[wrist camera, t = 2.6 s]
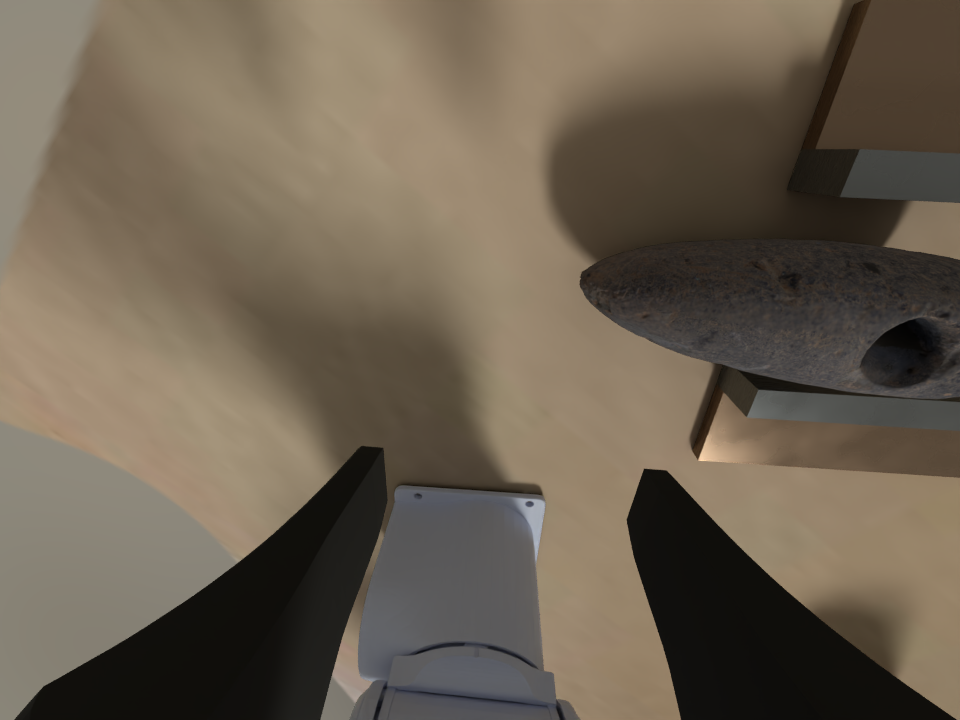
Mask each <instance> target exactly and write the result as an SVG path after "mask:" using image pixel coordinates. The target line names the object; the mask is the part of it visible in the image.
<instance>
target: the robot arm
mask: <svg viewBox="0 0 960 720" xmlns="http://www.w3.org/2000/svg"><path fill="white" fill-rule="evenodd" d="M416 493H418V494H421V495H418V494H416ZM394 496H395V503H394V506H393V509H392V512H391V516H390V519H389V522H388V525H387V529H386V532H385V535H384V538H383V542H382V545H381V548H380V551H379V555H378V558H377V561H376V564H375V568H374V571H373V574H372V577H371V581H370V584H369V588H368V592H367V596H366V600H365V605H364V610H363V615H362V621H361V627H360V634H359V645H358V668H359V673H360V676H361V678H363V679H365V680H368V681H372V682H373V683H372V684H371V685H370V687H369V688H368V689H367V690H366V691H365V692H364V693H363V694H362V695H361V696H360V697H359V698H358V700H357V702H356V704H355V706H354V709H353V711H352V714H351V717H350V720H580V718H579V717H578V715H577V714H576V712H575V710H574V708H573V707H572V705H571V704H570V703H569V702H568V701H565V700H559V699H556V693H555V682H554V674H553V673H552V672H547V671H544V664H543V651H542V638H541V625H540V612H539V600H538V587H537V574H536V561H537V555H538V549H539V543H540V536H541V530H542V524H543V518H544V512H545V505H546V504H545V498H544V497H543V496H541V495H535V494H521V493H506V492H492V491H477V490H463V489H448V488H434V487H419V486H405V485H401V486H398V487H397V488H396V490H395V493H394ZM528 501H531V502H528ZM386 504H387V488H386V476H385V463H384V450H383V448H379V447H366V446H361V447H360V448H359V449H358V450H357V451H356V452H355V453H354V454H353V455H352V456H351V457H350V458H349V459H348V461H347V462H346V463H345V464H344V465H343V466H342V467H341V468H340V469H339V470H338V472H337V473H336V474H335V475H334V476H333V477H332V478H331V479H330V480H329V481H328V482H327V483H326V484H325V485H324V486H323V487H322V488H321V489H320V490H319V491H318V492H317V493H316V494H315V495H314V496H313V497H312V498H311V499H310V500H309V501H308V502H307V503H306V504H305V505H304V506H303V507H302V508H301V509H300V510H299V511H298V512H297V513H296V514H295V515H293V516H292V517H291V518H290V519H289V520H288V521H287V522H286V523H285V524H284V525H283V526H282V527H280V528H279V529H278V530H277V531H276V532H275V533H274V534H273V535H271V536H270V537H269V538H268V539H267V540H266V541H264V542H263V543H262V544H261V545H260V546H258V547H257V548H256V549H255V550H254V551H252V552H251V553H250V554H249V555H247V556H246V557H245V558H244V559H242V560H241V561H240V562H239V563H237V564H236V565H235V566H233V567H232V568H231V569H229V570H228V571H227V572H225V573H224V574H223V575H221V576H220V577H219V578H217V579H216V580H215V581H213V582H212V583H211V584H209V585H208V586H206V587H205V588H204V589H202V590H201V591H199V592H198V593H197V594H195V595H194V596H192V597H191V598H189V599H188V600H186V601H185V602H183V603H182V604H181V605H179V606H177V607H176V608H174V609H173V610H171V611H170V612H168V613H167V614H165V615H164V616H162V617H160V618H159V619H157V620H156V621H154V622H153V623H151V624H150V625H148V626H147V627H145V628H144V629H142V630H140V631H139V632H137V633H136V634H134V635H132V636H131V637H129V638H128V639H126V640H124V641H122V642H121V643H119V644H118V645H116V646H114V647H112V648H111V649H109V650H107V651H105V652H104V653H102V654H100V655H99V656H97V657H95V658H93V659H91V660H90V661H88V662H86V663H84V664H83V665H81V666H79V667H77V668H76V669H74V670H72V671H70V672H69V673H67V674H65V675H63V676H62V677H60V678H58V679H56V680H54V681H53V682H51V683H49V684H47V685H45V686H44V687H43V688H42V689H41V690H40V691H39V692H38V693H37V694H36V695H35V697H34V698H33V699H32V700H31V701H30V702H29V703H28V704H27V706H26V707H25V708H24V709H23V710H22V711H21V712H20V714H19V715H18V716H17V717H16V719H15V720H320V718H321V714H322V710H323V707H324V703H325V699H326V695H327V692H328V688H329V684H330V680H331V676H332V673H333V669H334V665H335V662H336V658H337V655H338V651H339V647H340V644H341V640H342V636H343V633H344V630H345V627H346V624H347V621H348V618H349V615H350V613H351V610H352V607H353V605H354V602H355V599H356V596H357V594H358V591H359V588H360V586H361V583H362V580H363V577H364V575H365V572H366V569H367V567H368V564H369V561H370V558H371V556H372V553H373V550H374V547H375V545H376V542H377V539H378V536H379V533H380V529H381V525H382V521H383V517H384V512H385V508H386ZM627 524H628V530H629V535H630V541H631V545H632V550H633V555H634V559H635V562H636V565H637V568H638V571H639V575H640V578H641V581H642V584H643V587H644V590H645V593H646V596H647V599H648V602H649V605H650V608H651V611H652V614H653V617H654V620H655V623H656V626H657V629H658V633H659V636H660V639H661V642H662V645H663V648H664V651H665V655H666V658H667V662H668V665H669V669H670V673H671V678H672V682H673V686H674V690H675V695H676V699H677V703H678V708H679V712H680V716H681V720H956V719H955V718H953V717H952V716H950V715H949V714H948V713H946V712H945V711H943V710H942V709H940V708H939V707H937V706H936V705H935V704H933V703H932V702H930V701H929V700H927V699H926V698H925V697H923V696H922V695H920V694H919V693H917V692H916V691H914V690H913V689H912V688H910V687H909V686H907V685H906V684H904V683H903V682H902V681H900V680H899V679H898V678H896V677H895V676H893V675H892V674H891V673H889V672H888V671H886V670H885V669H884V668H882V667H881V666H880V665H878V664H877V663H876V662H874V661H873V660H872V659H870V658H869V657H868V656H866V655H865V654H864V653H862V652H861V651H860V650H859V649H857V648H856V647H855V646H853V645H852V644H851V643H849V642H848V641H847V640H845V639H844V638H843V637H842V636H840V635H839V634H838V633H836V632H835V631H834V630H833V629H831V628H830V627H829V626H828V625H826V624H825V623H824V622H823V621H821V620H820V619H819V618H818V617H817V616H815V615H814V614H813V613H812V612H811V611H810V610H808V609H807V608H806V607H805V606H804V605H802V604H801V603H800V602H799V601H798V600H797V599H795V598H794V597H793V596H792V595H791V594H790V593H788V592H787V591H786V590H785V589H784V588H783V587H782V586H780V585H779V584H778V583H777V582H776V581H775V580H774V579H773V578H772V577H770V576H769V575H768V574H767V573H766V572H765V571H764V570H763V569H762V568H761V567H760V566H759V565H758V564H757V563H756V562H755V561H753V560H752V559H751V558H750V557H749V556H748V555H747V554H746V553H745V552H744V551H743V550H742V549H741V548H740V547H739V546H738V545H737V544H736V543H735V542H734V541H733V540H732V539H731V538H730V537H729V536H728V535H727V534H726V533H725V532H724V531H723V530H722V529H721V528H720V527H719V526H718V525H717V524H716V523H715V522H714V520H713V519H712V518H711V517H710V516H709V515H708V514H707V513H706V512H705V511H704V510H703V509H702V508H701V507H700V506H699V505H698V503H697V502H696V501H695V500H694V499H693V498H692V497H691V496H690V495H689V494H688V493H687V492H686V491H685V489H684V488H683V487H682V486H681V485H680V484H679V483H678V482H677V481H676V480H675V479H674V478H673V477H672V476H671V475H670V474H669V473H668V471H666V470H653V469H644V471H643V473H642V476H641V479H640V482H639V485H638V488H637V491H636V494H635V497H634V500H633V503H632V506H631V509H630V511H629V514H628V517H627Z"/></svg>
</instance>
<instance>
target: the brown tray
mask: <svg viewBox="0 0 960 720" xmlns="http://www.w3.org/2000/svg"><path fill="white" fill-rule="evenodd" d="M787 190H794V191H801V192H808V193H815V194H822V195H829V196H836V197H850V198H871V199H892V200H912V201H933V202H954V203H960V0H864V1H861V2H859V3H856V4H854V6H853V9H852V12H851V15H850V17H849V20H848V23H847V26H846V28H845V31H844V34H843V37H842V39H841V42H840V45H839V48H838V50H837V53H836V56H835V59H834V61H833V64H832V67H831V70H830V72H829V75H828V78H827V81H826V83H825V86H824V89H823V92H822V95H821V97H820V100H819V103H818V106H817V108H816V111H815V114H814V117H813V119H812V122H811V125H810V128H809V130H808V133H807V136H806V139H805V141H804V144H803V147H802V150H801V152H800V155H799V158H798V161H797V163H796V166H795V169H794V172H793V175H792V177H791V180H790V183H789V186H788V188H787ZM692 451H693V453H694V454H695V456H696V458H697V459H698V460H700V461H715V462H731V463H746V464H761V465H776V466H791V467H807V468H822V469H837V470H852V471H867V472H882V473H898V474H913V475H928V476H943V477H958V478H960V397H952V398H945V399H918V398H905V397H896V396H883V395H875V394H863V393H855V392H847V391H841V390H835V389H830V388H824V387H819V386H812V385H806V384H801V383H796V382H791V381H786V380H781V379H776V378H772V377H767V376H763V375H758V374H754V373H749V372H745V371H742V370H738V369H735V368H731V367H728V366H726V365H723V368H722V370H721V373H720V376H719V379H718V381H717V384H716V387H715V390H714V392H713V395H712V398H711V401H710V404H709V406H708V409H707V412H706V415H705V417H704V420H703V423H702V426H701V428H700V431H699V434H698V437H697V439H696V442H695V445H694V448H693V450H692Z"/></svg>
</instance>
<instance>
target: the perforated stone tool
mask: <svg viewBox="0 0 960 720" xmlns="http://www.w3.org/2000/svg"><path fill="white" fill-rule="evenodd" d="M580 278H581V280H580V287H581V289H582V290H583V292H584V295H585V296H586V298H587V299H588V300H589V302H590V303H591V304H592V305H593V306H594V307H596V308H597V309H598V310H599V311H600V312H602V313H603V314H604V315H605V316H607V317H608V318H610V319H611V320H612V321H614V322H615V323H617V324H618V325H620V326H621V327H623V328H625V329H627V330H628V331H630V332H633V333H634V334H636V335H638V336H641V337H644V338H646V339H648V340H649V341H651V342H654V343H656V344H658V345H660V346H663V347H665V348H667V349H670V350H672V351H675V352H677V353H680V354H683V355H686V356H690V357H693V358H697V359H701V360H704V361H708V362H712V363H717V364H723V365H726V366H728V367H731V368H735V369H738V370H742V371H745V372H749V373H754V374H758V375H763V376H767V377H772V378H776V379H781V380H786V381H791V382H796V383H801V384H806V385H812V386H819V387H824V388H830V389H835V390H841V391H847V392H855V393H863V394H875V395H883V396H896V397H905V398H918V399H945V398H952V397H960V260H958V259H953V258H949V257H944V256H938V255H933V254H927V253H922V252H913V251H906V250H901V249H895V248H887V247H879V246H873V245H865V244H856V243H845V242H836V241H822V240H792V239H737V240H736V239H733V240H709V241H691V242H676V243H666V244H659V245H654V246H648V247H643V248H638V249H635V250H631V251H627V252H623V253H619V254H616V255H614V256H611V257H608V258H605V259H603V260H601V261H599V262H597V263H595V264H594V265H592V266H590V267H589V268H588V269H586V270H585V271H583V272H582V274H581V277H580Z"/></svg>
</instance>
